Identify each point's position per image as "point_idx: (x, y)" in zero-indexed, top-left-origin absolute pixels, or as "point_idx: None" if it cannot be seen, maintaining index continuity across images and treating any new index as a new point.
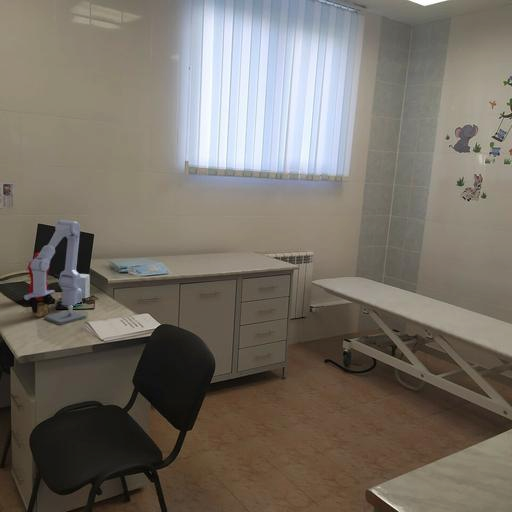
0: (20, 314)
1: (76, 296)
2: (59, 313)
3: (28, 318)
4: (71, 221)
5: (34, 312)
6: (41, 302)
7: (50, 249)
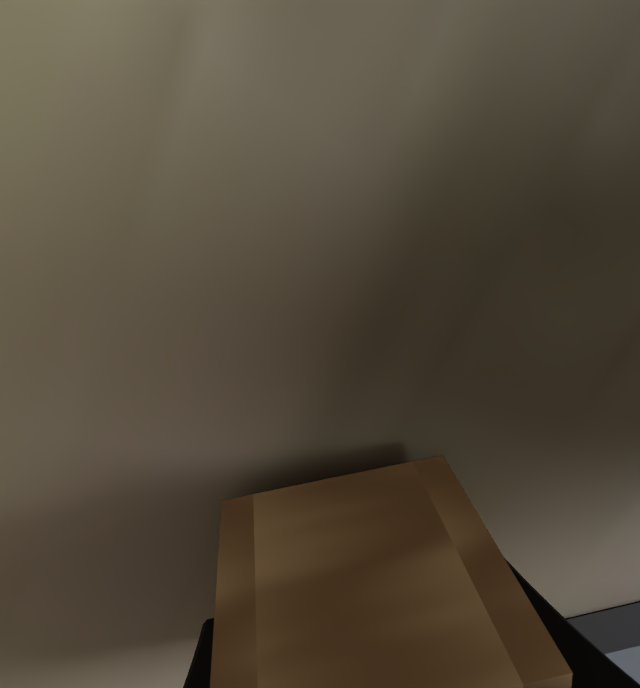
0: (19, 263)
1: None
2: None
3: (109, 576)
4: None
5: None
6: (564, 678)
7: None
